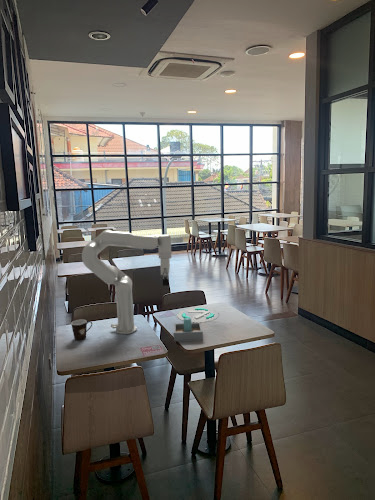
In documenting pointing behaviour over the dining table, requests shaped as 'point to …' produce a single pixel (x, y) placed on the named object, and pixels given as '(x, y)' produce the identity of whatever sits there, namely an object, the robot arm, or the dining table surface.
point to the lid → (198, 316)
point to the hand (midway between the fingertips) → (165, 283)
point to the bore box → (188, 336)
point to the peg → (187, 325)
